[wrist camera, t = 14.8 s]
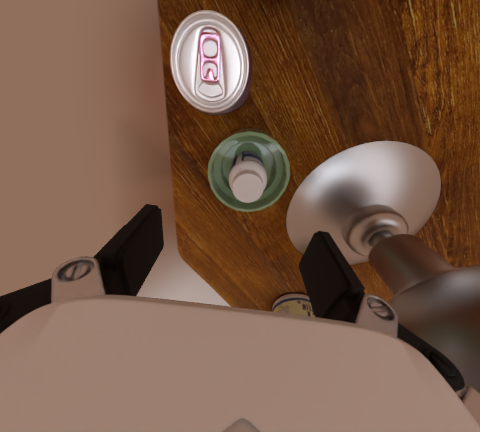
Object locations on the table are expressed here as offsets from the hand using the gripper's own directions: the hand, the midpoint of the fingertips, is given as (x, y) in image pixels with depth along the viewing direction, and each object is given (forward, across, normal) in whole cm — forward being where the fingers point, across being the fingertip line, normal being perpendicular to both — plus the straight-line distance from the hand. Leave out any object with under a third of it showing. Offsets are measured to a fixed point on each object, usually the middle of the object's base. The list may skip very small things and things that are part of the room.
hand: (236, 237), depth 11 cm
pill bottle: (+22, -1, +2) cm, 22 cm away
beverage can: (+23, +3, -8) cm, 24 cm away
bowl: (+22, -2, +2) cm, 23 cm away
